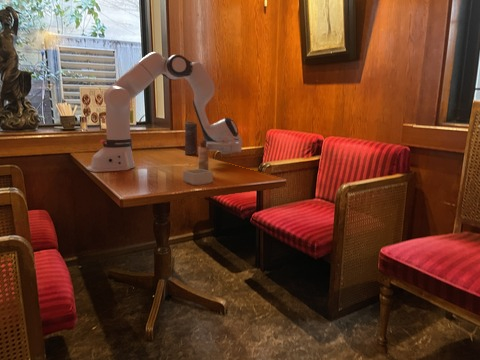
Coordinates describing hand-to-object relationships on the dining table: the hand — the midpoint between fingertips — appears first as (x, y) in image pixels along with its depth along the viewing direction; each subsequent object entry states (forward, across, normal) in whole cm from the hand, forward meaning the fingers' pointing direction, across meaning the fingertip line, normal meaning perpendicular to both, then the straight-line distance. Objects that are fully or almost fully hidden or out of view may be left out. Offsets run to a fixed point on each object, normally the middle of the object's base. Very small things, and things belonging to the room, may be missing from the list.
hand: (214, 148), depth 177 cm
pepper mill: (+12, 0, +11) cm, 16 cm away
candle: (-41, -34, +11) cm, 54 cm away
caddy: (+26, +4, +11) cm, 28 cm away
